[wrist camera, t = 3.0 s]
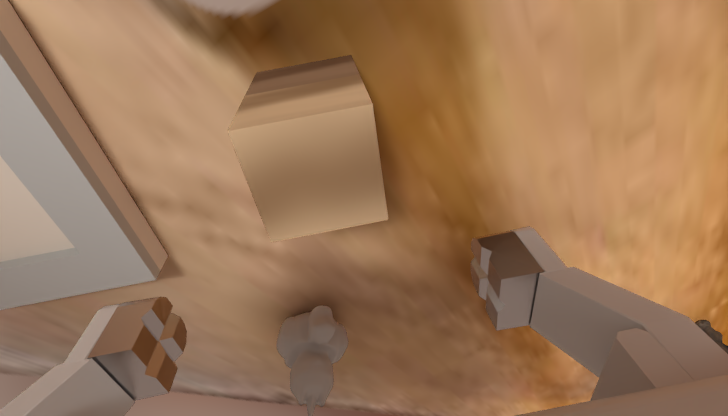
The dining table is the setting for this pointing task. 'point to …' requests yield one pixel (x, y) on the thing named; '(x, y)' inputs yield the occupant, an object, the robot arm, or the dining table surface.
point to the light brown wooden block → (310, 149)
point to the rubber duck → (312, 354)
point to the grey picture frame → (59, 190)
